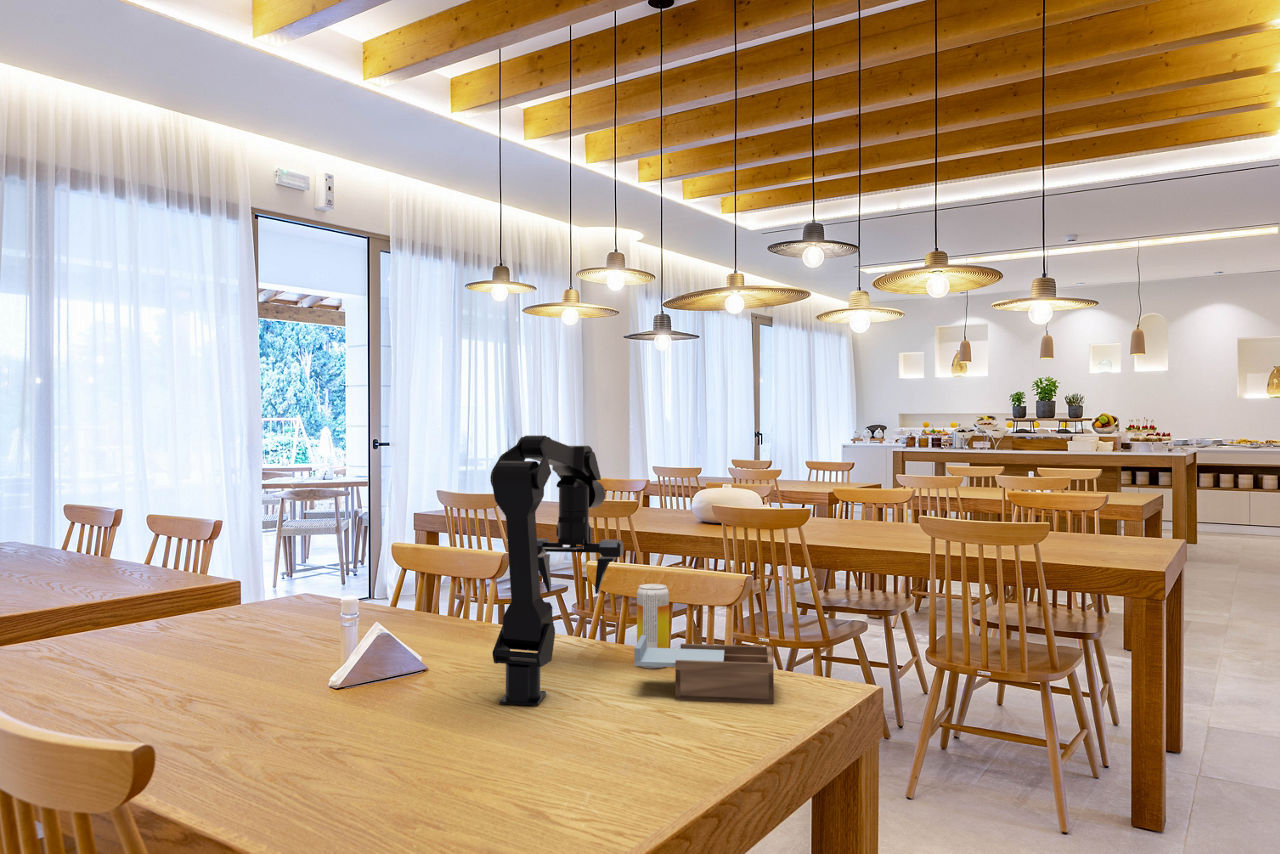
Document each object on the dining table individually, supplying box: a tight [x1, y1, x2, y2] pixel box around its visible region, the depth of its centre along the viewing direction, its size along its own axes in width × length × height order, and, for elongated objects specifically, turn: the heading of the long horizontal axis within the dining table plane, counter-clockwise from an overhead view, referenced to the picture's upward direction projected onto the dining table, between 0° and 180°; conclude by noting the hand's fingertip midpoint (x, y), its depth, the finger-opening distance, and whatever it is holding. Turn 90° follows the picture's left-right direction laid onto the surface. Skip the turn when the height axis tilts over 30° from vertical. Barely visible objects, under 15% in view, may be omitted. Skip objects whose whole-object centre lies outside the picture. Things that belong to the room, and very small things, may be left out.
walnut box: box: [674, 643, 775, 705], centre depth 144 cm, size 12×16×6 cm
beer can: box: [636, 583, 670, 670], centre depth 161 cm, size 6×6×15 cm
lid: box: [633, 635, 724, 668], centre depth 145 cm, size 10×15×3 cm, turn 83°
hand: (572, 593), depth 161 cm, fingers open, 9 cm apart
